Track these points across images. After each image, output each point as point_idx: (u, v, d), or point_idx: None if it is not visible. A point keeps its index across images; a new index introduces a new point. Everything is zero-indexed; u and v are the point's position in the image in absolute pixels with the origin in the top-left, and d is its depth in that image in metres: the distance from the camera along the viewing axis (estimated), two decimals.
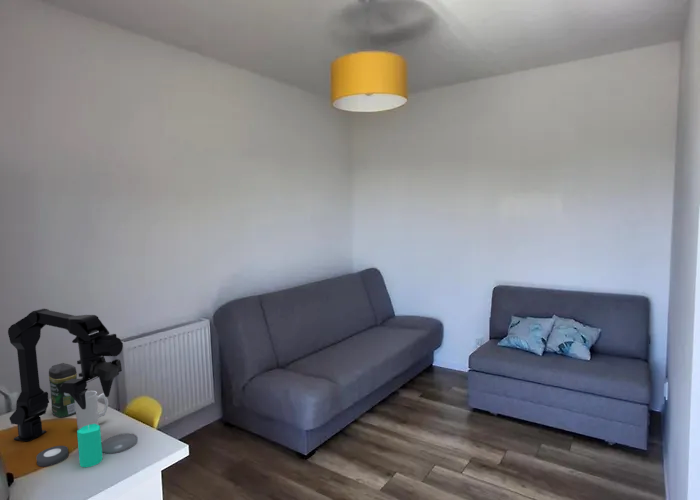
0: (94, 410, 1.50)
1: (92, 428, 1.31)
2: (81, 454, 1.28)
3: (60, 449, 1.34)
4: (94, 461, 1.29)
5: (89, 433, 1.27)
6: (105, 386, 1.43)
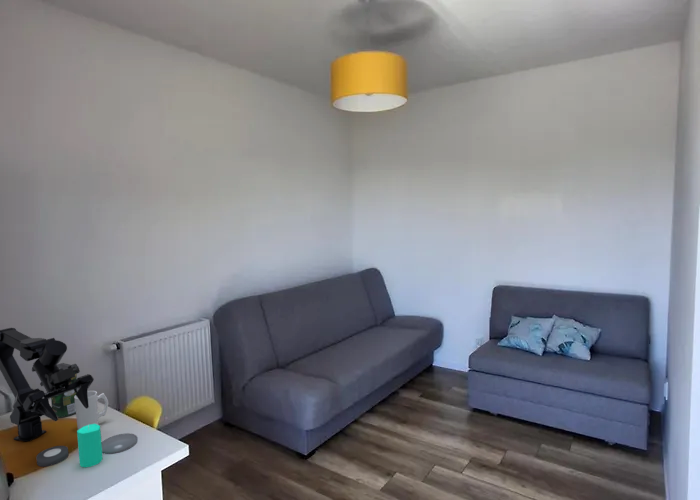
0: (94, 410, 1.50)
1: (92, 428, 1.31)
2: (81, 454, 1.28)
3: (60, 449, 1.34)
4: (94, 461, 1.29)
5: (89, 433, 1.27)
6: (82, 399, 1.38)
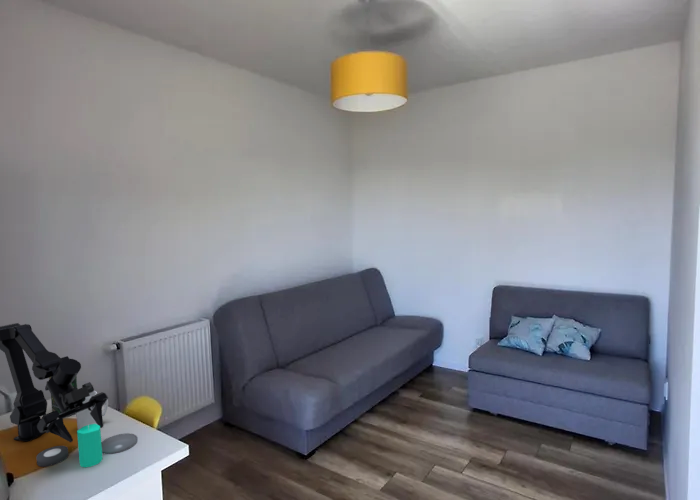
0: None
1: (92, 428, 1.31)
2: (81, 454, 1.28)
3: (60, 449, 1.34)
4: (94, 461, 1.29)
5: (89, 433, 1.27)
6: (96, 418, 1.35)
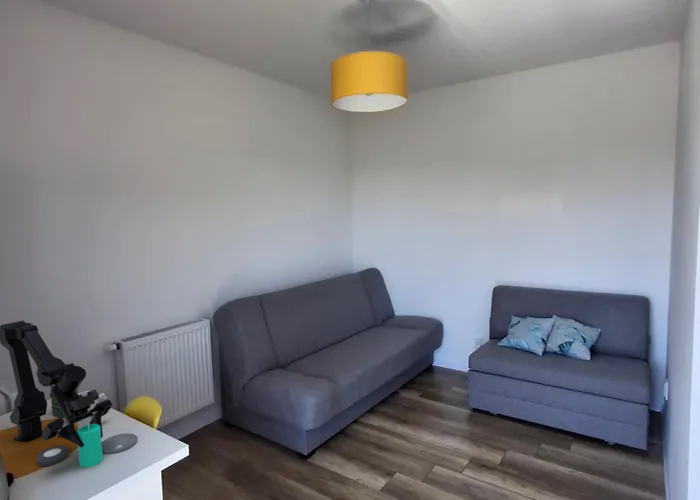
0: None
1: (92, 428, 1.31)
2: (81, 454, 1.28)
3: (60, 449, 1.34)
4: (94, 461, 1.29)
5: (89, 433, 1.27)
6: None
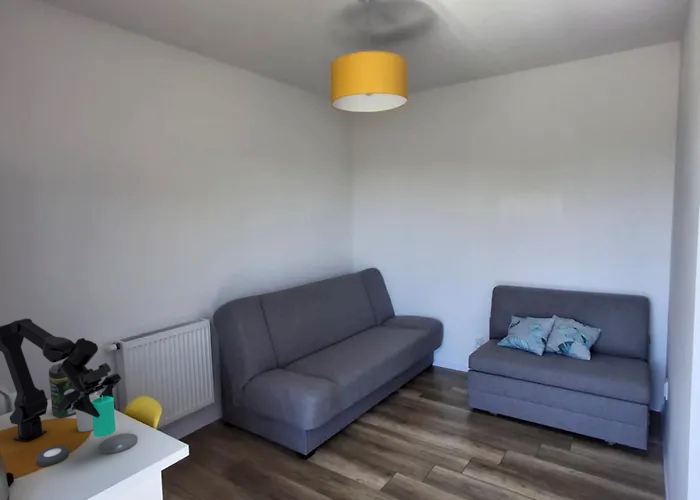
0: None
1: (105, 400, 1.35)
2: (96, 424, 1.32)
3: (60, 449, 1.34)
4: (109, 431, 1.33)
5: (105, 403, 1.32)
6: None
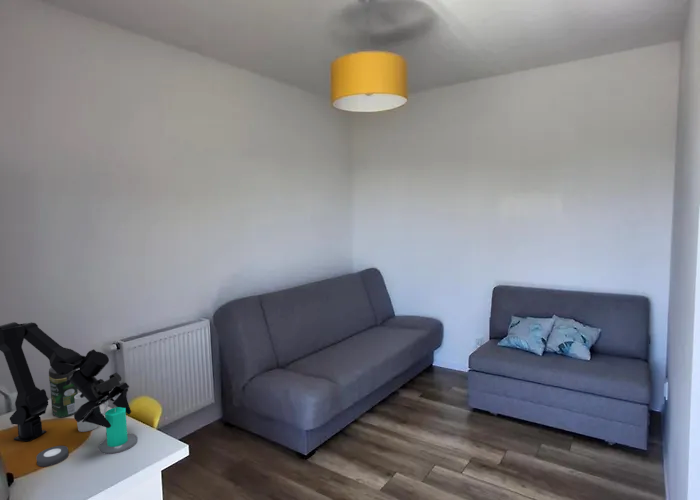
0: None
1: (118, 410, 1.40)
2: (111, 435, 1.37)
3: (60, 449, 1.34)
4: (123, 440, 1.39)
5: (119, 414, 1.37)
6: (123, 406, 1.44)
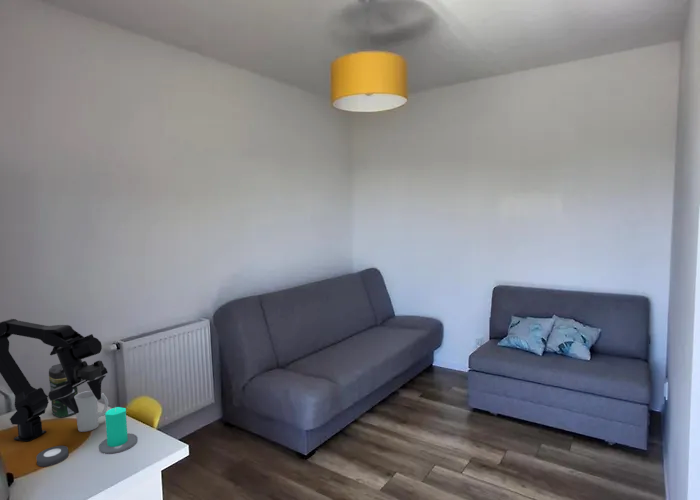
0: (94, 410, 1.50)
1: (118, 410, 1.40)
2: (111, 435, 1.37)
3: (60, 449, 1.34)
4: (123, 440, 1.39)
5: (119, 414, 1.37)
6: (95, 390, 1.48)
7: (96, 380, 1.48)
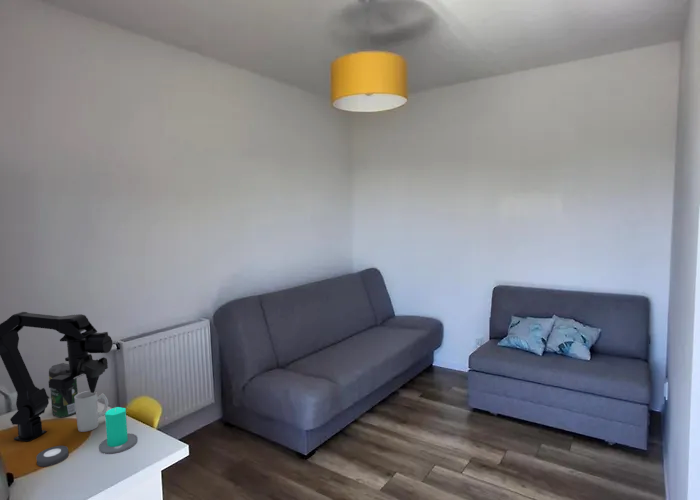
0: (94, 410, 1.50)
1: (118, 410, 1.40)
2: (111, 435, 1.37)
3: (60, 449, 1.34)
4: (123, 440, 1.39)
5: (119, 414, 1.37)
6: (91, 382, 1.50)
7: None
